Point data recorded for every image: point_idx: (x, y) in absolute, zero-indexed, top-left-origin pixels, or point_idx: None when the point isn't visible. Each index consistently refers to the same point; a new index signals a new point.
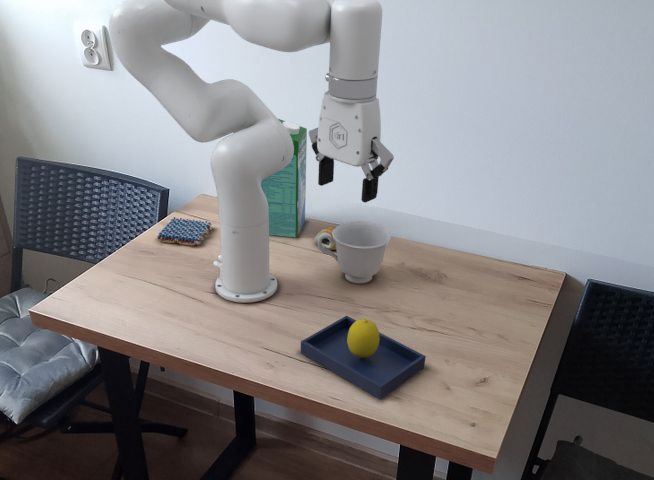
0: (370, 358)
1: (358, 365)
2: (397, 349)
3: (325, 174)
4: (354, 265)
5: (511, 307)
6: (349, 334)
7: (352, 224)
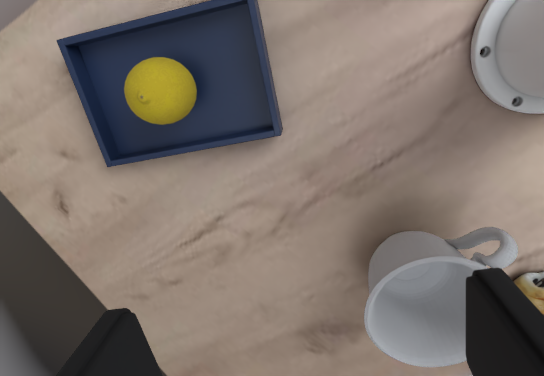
0: None
1: None
2: (159, 149)
3: (503, 359)
4: (392, 247)
5: (194, 354)
6: (163, 61)
7: None
